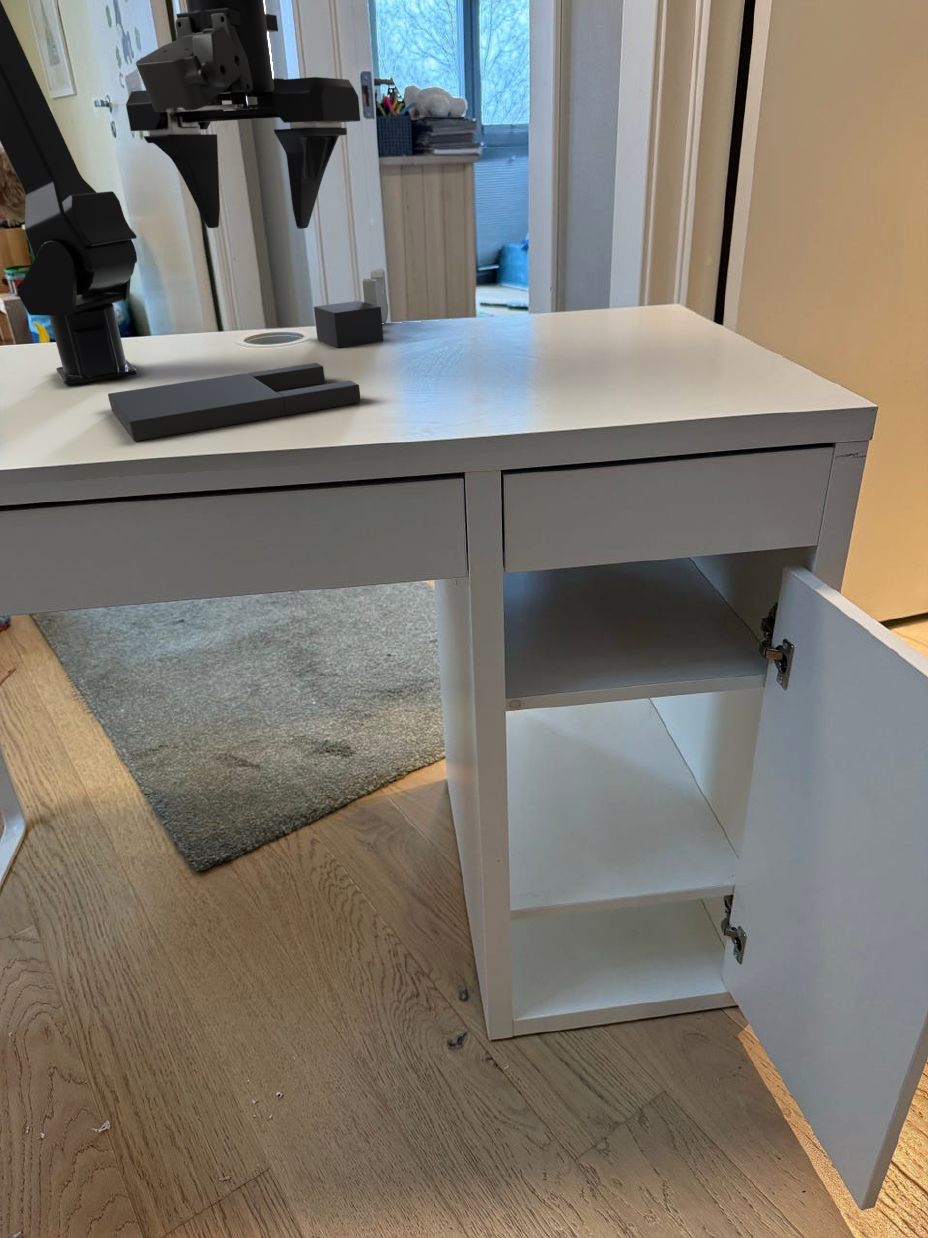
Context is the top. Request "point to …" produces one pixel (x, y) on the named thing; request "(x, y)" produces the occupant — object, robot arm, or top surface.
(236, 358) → the top surface
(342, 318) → the dark grey rectangular block
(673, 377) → the top surface
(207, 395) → the base pad
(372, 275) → the light grey notched plate
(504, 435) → the top surface
